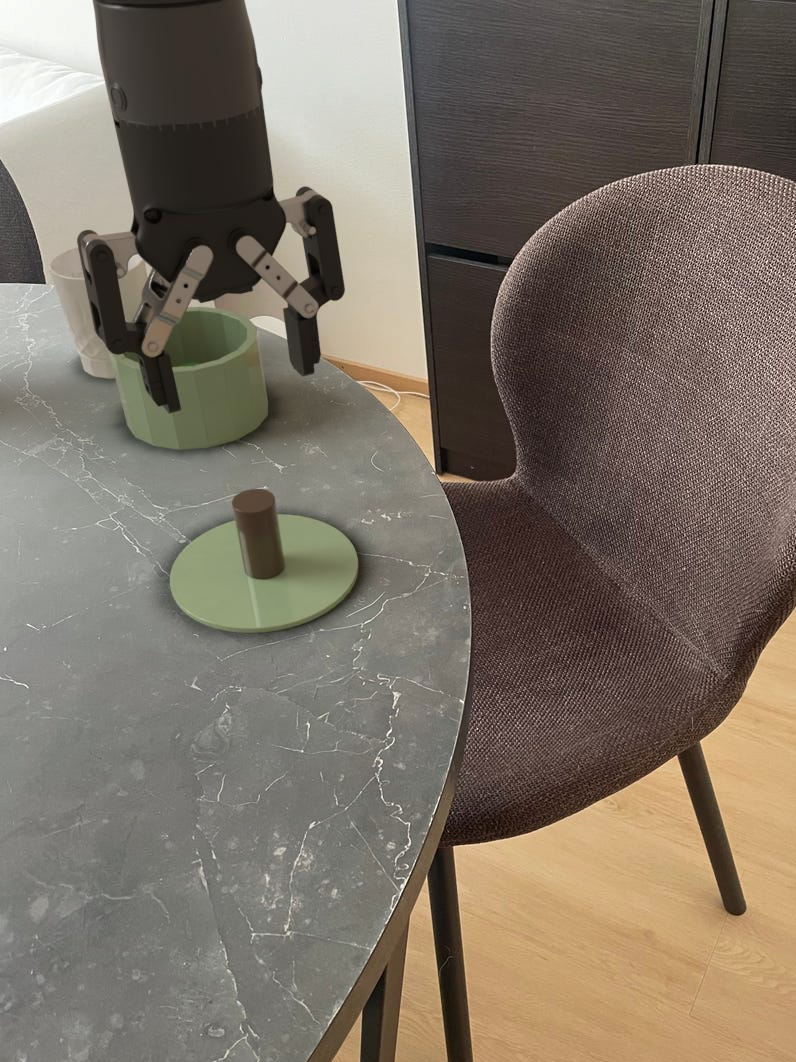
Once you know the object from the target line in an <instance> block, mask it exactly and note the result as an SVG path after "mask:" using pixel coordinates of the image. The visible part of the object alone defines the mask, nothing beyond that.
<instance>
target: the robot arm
mask: <svg viewBox="0 0 796 1062" xmlns="http://www.w3.org/2000/svg"><path fill="white" fill-rule="evenodd" d="M92 5H93V11H94V19H95V20H94V21H95V30H96V40H97V49H98V54H99V61H100V65H101V70H102V75H103V80H104V83H105V88H106V93H107V97H108V102H109V107H110V111H111V113H112V114H111V115H112V119H113V124H114V128H115V133H116V137H117V142H118V146H119V151H120V156H121V160H122V165H123V171H124V174H125V179H126V183H127V187H128V192H129V196H130V201H131V205H132V210H133V211H132V213H133V216H132V224H131V227H130V230H129V231H123V232H115V233H107V234H98V233H97V232H96V231H94V230H92V229H85V230H82V231H81V232H79V234H78V236H77V237H76V243H77V247H78V249H79V254H80V259H81V264H82V269H83V274H84V279H85V284H86V289H87V294H88V299H89V304H90V309H91V314H92V319H93V325H94V330H95V332H96V334H97V335H98V336H99V338H100V339H102V340H103V342H104V343H105V345H106V347H107V348H108V350H109V351H110V352H111V353H113V354H116V355H120V354H123V353H125V352H132V353H136V354H137V357H138V361H139V365H140V370H141V374H142V378H143V381H144V386H145V390H146V391H147V393H148V394H149V395H150V397H151V398H152V399H153V401H154V402H155V403H156V404H157V406H158V407H159V406H163V407H164V408H165V410H166V411H167V412H168V413H169V414H170V413H174V412H177V411H181V406H180V401H179V397H178V392H177V388H176V383H175V378H174V374H173V369H172V365H171V360H170V356H169V354H168V353H167V351H166V350H165V349H164V347H165V344H166V342H167V340H168V338H169V336H170V334H171V332H172V330H173V328H174V326H175V325H176V324H178V323H180V321H181V320H182V318H183V316H184V314H185V312H186V310H187V308H189V306H190V304H191V302H192V300H195V301H198V302H199V303H200V304H204V303H208V302H212V301H215V300H217V299H219V298H220V297H222V296H224V295H226V294H228V295H229V294H231V295H242V294H246V293H251V292H253V291H254V288H253V287H255V286H257V284H258V283H259V282H260V281H261V280H263V282H265V283H266V284H267V285H268V286H269V287H270V288H271V289H272V290H273V291H275V293H276V294H278V295H279V296H280V297H281V299H282V300H283V301H285V302H286V304H287V307H283V308H282V313H283V320H284V327H285V335H286V341H287V349H288V357H289V361H290V365H291V366H292V368H293V369H294V370H295V371H296V372H297V373H298V374H299V375H300V376H301V377H307V376H312V375H314V374H315V365H316V364H319V363H320V360H321V356H322V355H321V354H322V353H321V345H320V344H321V343H320V342H321V341H320V335H319V327H318V312H319V310H320V309H321V307H323V306H324V305H325V304H327V303H328V302H330V301H333V302H337V301H340V300H341V299H342V298H343V297H344V294H345V292H346V288H345V280H344V275H343V267H342V261H341V255H340V247H339V240H338V235H337V227H336V223H335V221H336V220H335V215H334V209H333V204H332V203H331V201H330V200H328V199H327V198H326V197H324V196H323V195H322V194H320V193H319V192H317V191H316V190H315V189H313V188H311V187H310V186H302V187H300V188H298V190H297V191H296V192H295V196H294V197H290V198H286V199H282V200H279V201H278V199H277V196H276V194H275V190H274V174H273V167H272V162H271V161H272V159H271V152H270V146H269V145H270V144H269V137H268V130H267V129H268V128H267V121H266V115H265V108H264V97H263V91H262V90H263V75H262V70H261V67H260V65H259V62H258V55H257V54H258V53H257V48H256V41H255V36H254V33H253V28H252V24H251V20H250V17H249V13H248V8H247V4H246V1H245V0H92ZM288 223H289V224H290V226H291V228H292V230H293V231H294V232H295V233H297V234H298V235H299V236H301V237H302V244H303V245H302V246H303V250H304V256H305V262H306V268H307V273H308V277H307V278H305V279H304V280H302V281H301V282H298V281H297V280H296V279H295V278H294V277H293V275H292V274H291V273H289V271H287V270H286V268H284V267H283V266H282V265H281V264H280V263H279V262H278V261H277V259H276V258H274V254H275V252H276V249H277V247H278V245H279V243H280V241H281V239H282V236H283V234H284V232H285V230H286V227H287V224H288ZM136 254H139V255H140V256H141V258H142V259H143V260H144V261H145V264H147V265H148V266H149V267H150V268H151V269H150V272H149V274H148V275H147V276H148V278H147V281H146V283H145V285H144V287H143V290H142V294H141V296H142V299H141V303H140V305H139V307H138V309H137V311H136V314H135V316H134V318H133V320H132V322H131V323H130V322H126V321H125V316H124V310H123V305H122V299H121V293H120V288H119V282H118V279H121V278H123V277H124V276H125V275H126V274H127V271H128V262H129V260H130V258H131V257H132V256H134V255H136Z"/></svg>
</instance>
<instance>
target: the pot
mask: <svg viewBox="0 0 796 1062" xmlns="http://www.w3.org/2000/svg"><path fill="white" fill-rule="evenodd" d="M131 322H132V321H131ZM131 322H130V323H131ZM164 349H165V350H166V351H167V353H168V354H169V356H170V360H171V365H172V369H173V374H174V378H175V383H176V388H177V392H178V397H179V401H180V406H181V411H177V412H174V413H170V414H169V413H168V412H167V411H166V410H165V408H164V407H163V406H159V407H158V406H157V404H156V403H155V402H154V401H153V399H152V398H151V397H150V395H149V394H148V393H147V391H146V390H145V386H144V381H143V378H142V374H141V370H140V365H139V361H138V357H137V354H136V353H132V352H125V353H123V354H120V355H116V354H113V353H111V352H110V351H109V350H108V351H109V355H110V359H111V363H112V367H113V371H114V375H115V378H114V379H115V383H116V387H117V390H118V395H119V399H120V401H121V407H122V410H123V414H124V418H125V422H126V426H127V427H128V429H129V430H130V431H131V433H132V435H133V436H134V437H135V438H136V439H137V440H140V441H142V442H144V443H147V444H149V445H151V446H153V447H158V448H165V449H171V450H172V449H173V450H179V451H183V450H184V451H185V450H195V449H208V448H213V447H217V446H221V445H224V444H227V443H231V442H235V441H237V440H239V439H241V438H243V437H245V436H246V435H248V434H250V433H251V432H254V431H255V430H257V429H258V428H259V427H260V426H261V424H262V423H263V422H264V420H265V419H267V417H268V415H269V400H268V392H267V386H266V379H265V373H264V366H263V359H262V352H261V345H260V338H259V333H258V327H257V326H256V325H255V324H254V323H253V322H252V321H251V319H249V318H248V317H247V316H246V315H244V314H243V315H242V314H240V313H237V312H235V311H232V310H229V309H225V308H216V307H207V306H192V307H189V306H188V308H187V310H186V312H185V314H184V316H183V318H182V320H181V321H180V323H178V324H176V325H175V326H174V328H173V330H172V332H171V334H170V336H169V338H168V340H167V342H166V344H165V347H164ZM192 362H194V363H200V364H199V365H195V366H184V367H179V366H180V365H182V364H185V363H192Z"/></svg>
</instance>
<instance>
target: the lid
mask: <svg viewBox="0 0 796 1062" xmlns="http://www.w3.org/2000/svg"><path fill="white" fill-rule="evenodd" d="M231 507H232V508H231V509H232V513H233V517H234V520H231V521H228V522H225V523H222V524H220V525H217V526H215V527H213V528H211V529H208V530H207V531H205V532H203V533H202V534H200V535H198V536H197V537H196V538H194V539H193V540H192V541H191V542H189V543H188V544H187V545H186V546H185V547H184V548H183V550H181V552H180V553H179V554H178V555H177V557H176V559H175V560H174V562H173V564H172V566H171V570H170V574H169V587H170V590H171V595H172V598H173V600H174V602H175V603H176V604H177V606H178V607H179V609H180V610H182V612H184V613H185V614H186V615H187V616H188V617H190V618H191V619H192V620H195V621H196V622H198V623H201V624H202V625H205V626H207V627H210V628H213V629H216V630H221V631H226V632H233V633H234V632H235V633H242V634H243V633H244V634H245V633H246V634H248V633H249V634H256V633H257V634H258V633H269V632H277V631H283V630H286V629H287V630H288V629H290V628H291V629H292V628H294V627H297V626H300V625H303V624H306V623H308V622H311V621H314V620H316V619H317V618H319V617H321V616H323V615H325V614H327V613H329V611H331V610H333V609H334V608H335V607H337V605H339V604H340V603H341V602H343V600H344V599H345V598H347V596H348V595H349V593H350V592H351V591H352V589H353V587H354V586H355V583H356V581H357V579H358V574H359V558H358V553H357V551H356V548H355V546H354V544H353V543H352V542H351V540H350V539H349V538H348V537H347V536H346V535H345V534H344V533H343V532H342V531H340V530H339V529H338V528H336V527H334V526H332V525H330V524H329V523H326V522H324V521H321V520H318V519H315V518H312V517H308V516H303V515H296V514H283V513H278V508H277V502H276V497H275V494H273V492H272V491H270V490H266V489H262V488H250V489H246V490H243V491H241V492H239V493H237V494H236V495H235V496H234V497H233V498H232V500H231Z"/></svg>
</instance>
